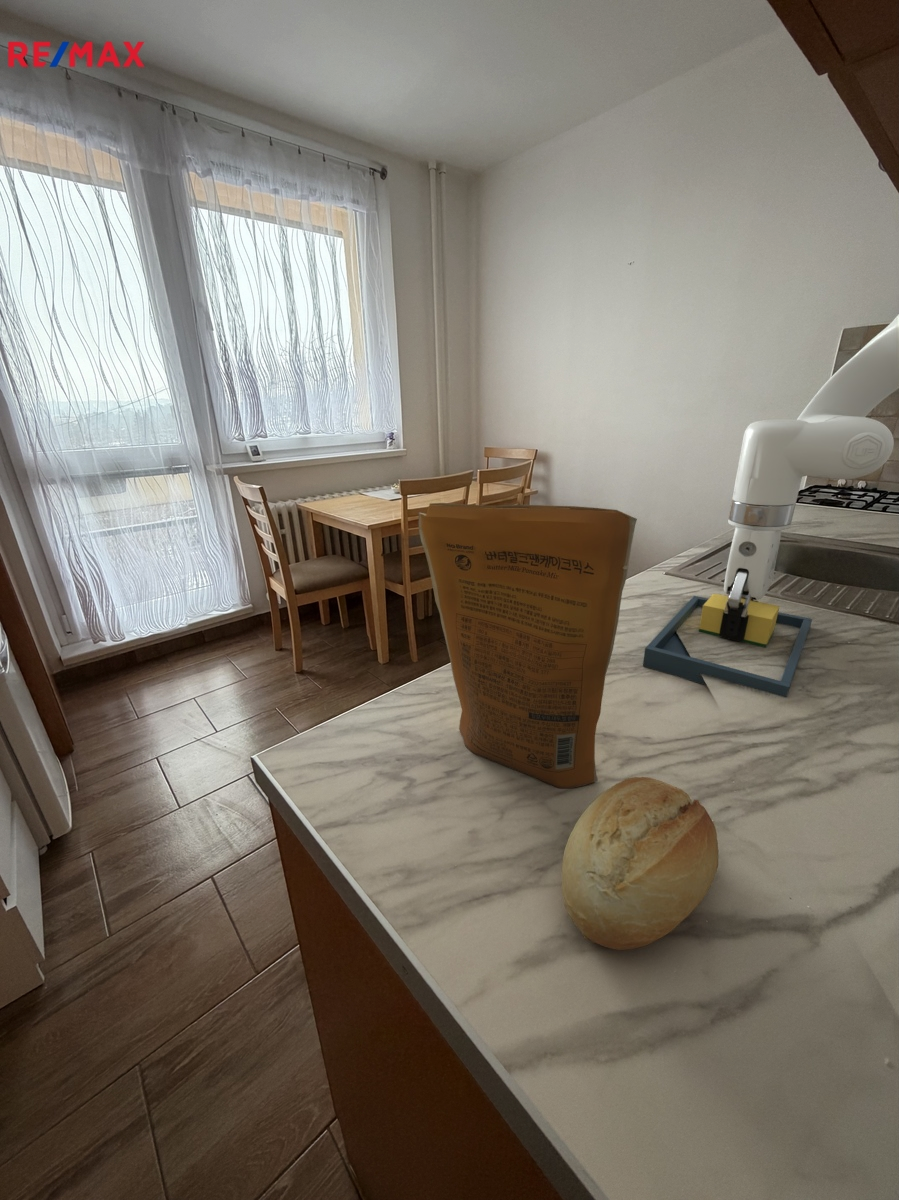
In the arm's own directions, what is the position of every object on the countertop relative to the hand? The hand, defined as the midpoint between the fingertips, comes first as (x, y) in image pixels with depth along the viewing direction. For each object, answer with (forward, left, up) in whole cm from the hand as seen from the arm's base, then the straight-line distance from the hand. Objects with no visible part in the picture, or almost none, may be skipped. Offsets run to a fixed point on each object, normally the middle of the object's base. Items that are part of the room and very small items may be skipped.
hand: (736, 629), depth 74 cm
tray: (+2, +3, -2) cm, 4 cm away
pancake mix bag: (+32, +31, -2) cm, 45 cm away
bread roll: (+22, +44, -2) cm, 49 cm away
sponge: (0, 0, -1) cm, 1 cm away
